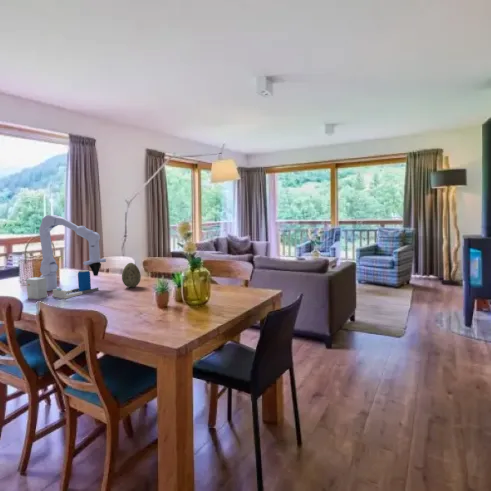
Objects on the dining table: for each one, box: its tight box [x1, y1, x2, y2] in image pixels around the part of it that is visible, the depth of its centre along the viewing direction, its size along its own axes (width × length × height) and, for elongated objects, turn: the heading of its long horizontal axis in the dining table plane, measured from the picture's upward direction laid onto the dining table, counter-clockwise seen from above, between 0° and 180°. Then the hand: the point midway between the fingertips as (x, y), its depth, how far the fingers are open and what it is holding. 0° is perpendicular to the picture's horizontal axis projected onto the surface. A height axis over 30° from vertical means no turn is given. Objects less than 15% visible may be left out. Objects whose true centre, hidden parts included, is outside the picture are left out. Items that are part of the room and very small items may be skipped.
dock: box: [52, 287, 99, 300], centre depth 206 cm, size 10×22×5 cm, turn 152°
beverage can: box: [77, 269, 92, 292], centre depth 211 cm, size 6×6×12 cm
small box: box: [25, 276, 48, 300], centre depth 197 cm, size 8×6×10 cm
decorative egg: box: [121, 262, 142, 289], centre depth 220 cm, size 11×11×15 cm
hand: (95, 275), depth 218 cm, fingers closed
